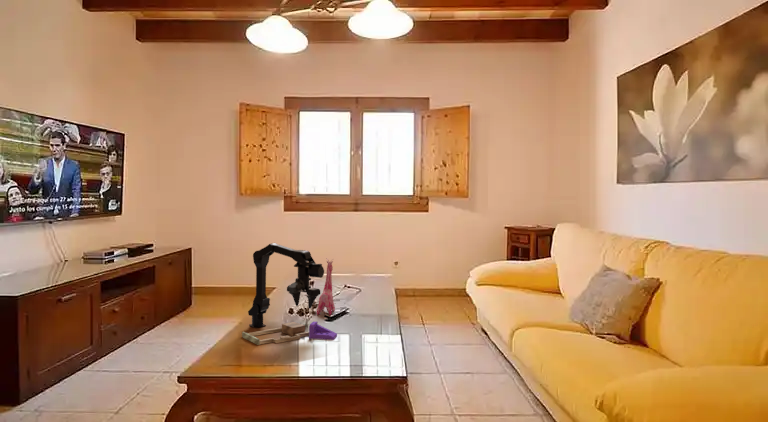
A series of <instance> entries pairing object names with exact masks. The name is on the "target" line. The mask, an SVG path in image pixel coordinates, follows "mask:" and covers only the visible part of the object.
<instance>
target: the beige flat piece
mask: <svg viewBox="0 0 768 422" xmlns="http://www.w3.org/2000/svg"><path fill="white" fill-rule="evenodd" d="M281 332H282V326H281V327H276V328H269V329H264V330H258V331H252V332H245V331H242V332H241V337H242V338H243V339H244V340H247V341H249V342H251V343H253V344H255V345H256V346H257V345H258V346H259V345H264V344H269V343H274V344H279V343H284V342H290V341H295V340H300V339H301V338H303V337H309V331H305V332H304V333H298V334H295V336H290V335H287V334H286V335H283V336H279V339H275V338H274V337H272V338H264V339H260V338H258V337H257V336H261V335H268V334H273V333H281Z"/></svg>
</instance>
